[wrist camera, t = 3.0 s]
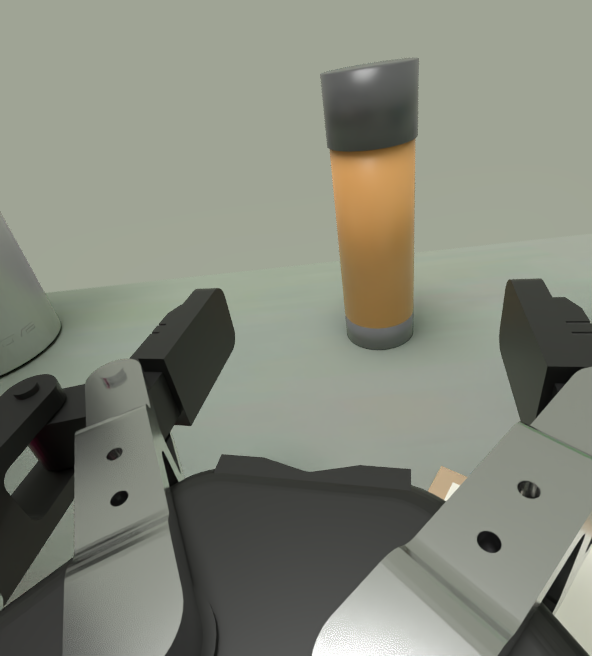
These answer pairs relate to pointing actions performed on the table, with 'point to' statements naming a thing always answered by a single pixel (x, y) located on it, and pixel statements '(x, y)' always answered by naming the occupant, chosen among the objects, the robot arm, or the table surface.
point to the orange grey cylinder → (374, 194)
